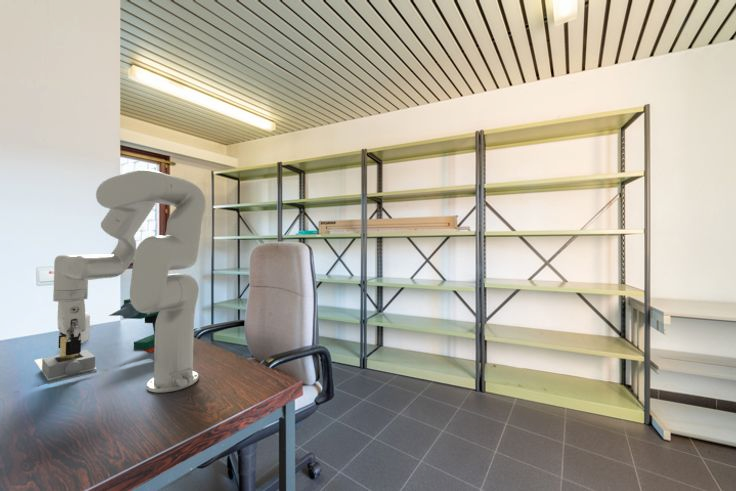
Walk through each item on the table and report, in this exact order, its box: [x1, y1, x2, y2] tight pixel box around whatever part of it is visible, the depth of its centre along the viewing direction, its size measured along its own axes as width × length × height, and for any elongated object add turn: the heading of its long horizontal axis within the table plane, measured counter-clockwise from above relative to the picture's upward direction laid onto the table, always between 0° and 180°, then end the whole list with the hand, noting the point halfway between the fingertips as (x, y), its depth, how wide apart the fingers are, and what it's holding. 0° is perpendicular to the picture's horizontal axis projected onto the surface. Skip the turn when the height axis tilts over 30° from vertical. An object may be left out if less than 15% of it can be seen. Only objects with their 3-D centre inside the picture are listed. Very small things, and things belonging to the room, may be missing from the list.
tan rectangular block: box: [59, 335, 78, 362], centre depth 92 cm, size 4×4×10 cm
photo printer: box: [80, 311, 91, 345], centre depth 118 cm, size 10×4×12 cm, turn 28°
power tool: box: [108, 298, 159, 354], centre depth 113 cm, size 32×7×20 cm, turn 179°
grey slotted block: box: [33, 349, 97, 385], centre depth 95 cm, size 25×10×5 cm, turn 54°
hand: (69, 350), depth 92 cm, fingers open, 9 cm apart
